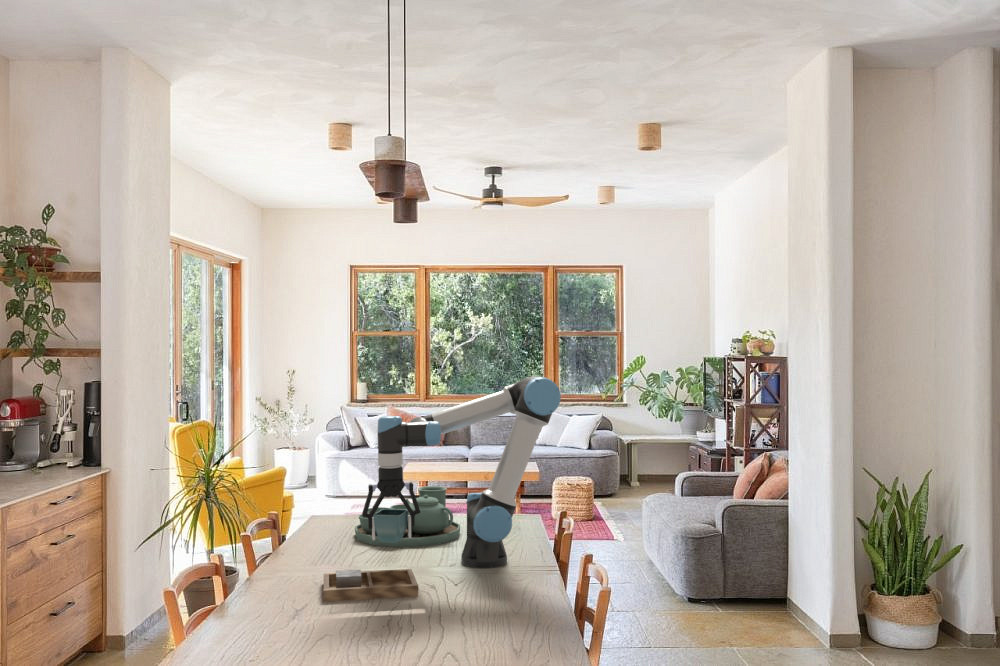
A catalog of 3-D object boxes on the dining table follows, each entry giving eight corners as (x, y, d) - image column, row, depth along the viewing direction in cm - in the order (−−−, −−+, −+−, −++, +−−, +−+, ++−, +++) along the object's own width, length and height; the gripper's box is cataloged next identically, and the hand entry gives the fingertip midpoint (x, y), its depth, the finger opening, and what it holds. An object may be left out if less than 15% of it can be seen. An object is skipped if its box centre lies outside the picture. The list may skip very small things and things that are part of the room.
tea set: (371, 523, 336) (371, 483, 336) (468, 527, 331) (468, 485, 331) (339, 546, 297) (340, 500, 297) (449, 550, 291) (449, 503, 292)
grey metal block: (360, 586, 241) (360, 569, 241) (361, 593, 235) (361, 575, 235) (335, 588, 240) (336, 570, 240) (336, 594, 233) (336, 577, 233)
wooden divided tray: (411, 582, 250) (411, 568, 250) (418, 599, 232) (418, 585, 232) (323, 586, 245) (323, 573, 245) (323, 605, 227) (323, 590, 227)
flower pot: (400, 544, 251) (400, 515, 251) (373, 544, 252) (372, 514, 253) (409, 538, 259) (408, 509, 260) (382, 537, 261) (382, 508, 261)
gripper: (425, 462, 262) (427, 533, 262) (352, 466, 258) (353, 537, 257) (428, 466, 255) (430, 538, 255) (353, 469, 250) (354, 543, 250)
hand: (391, 538), depth 256 cm, fingers closed on flower pot, 10 cm apart
